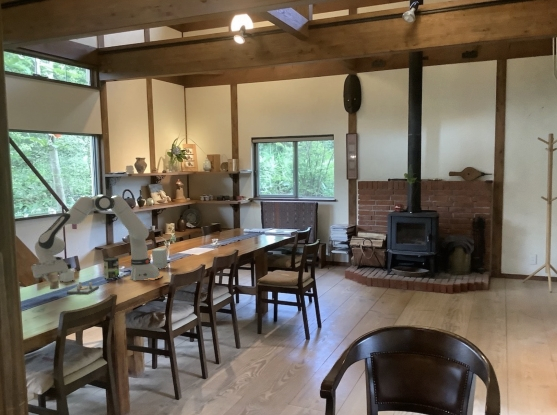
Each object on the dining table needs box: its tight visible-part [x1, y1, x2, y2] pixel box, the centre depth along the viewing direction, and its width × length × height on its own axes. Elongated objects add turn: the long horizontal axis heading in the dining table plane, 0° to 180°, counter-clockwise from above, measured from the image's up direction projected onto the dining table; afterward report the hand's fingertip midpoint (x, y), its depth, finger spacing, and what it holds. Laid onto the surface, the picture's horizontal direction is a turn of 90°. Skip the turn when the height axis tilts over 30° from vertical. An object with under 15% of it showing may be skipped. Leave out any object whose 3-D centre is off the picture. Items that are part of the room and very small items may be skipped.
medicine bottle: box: [59, 262, 75, 283], centre depth 330 cm, size 7×7×12 cm
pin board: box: [66, 281, 99, 295], centre depth 303 cm, size 14×14×5 cm
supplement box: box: [151, 248, 168, 269], centre depth 364 cm, size 9×9×15 cm
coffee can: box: [103, 257, 120, 280], centre depth 336 cm, size 10×10×14 cm
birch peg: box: [48, 272, 60, 290], centre depth 293 cm, size 5×5×10 cm
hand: (54, 279), depth 292 cm, fingers closed on birch peg, 5 cm apart
